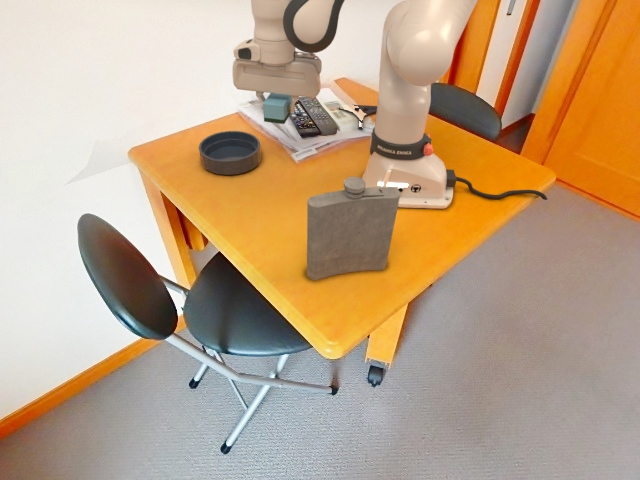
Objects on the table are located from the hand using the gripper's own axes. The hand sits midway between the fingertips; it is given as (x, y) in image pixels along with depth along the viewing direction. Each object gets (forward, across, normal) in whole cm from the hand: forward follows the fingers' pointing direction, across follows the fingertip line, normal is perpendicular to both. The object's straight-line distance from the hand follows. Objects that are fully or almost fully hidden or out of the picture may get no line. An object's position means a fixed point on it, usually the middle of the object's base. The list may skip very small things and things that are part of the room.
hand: (278, 110), depth 96 cm
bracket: (+15, -17, -30) cm, 38 cm away
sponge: (+2, 0, 0) cm, 2 cm away
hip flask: (+15, -23, +34) cm, 44 cm away
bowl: (+14, +13, +2) cm, 19 cm away
